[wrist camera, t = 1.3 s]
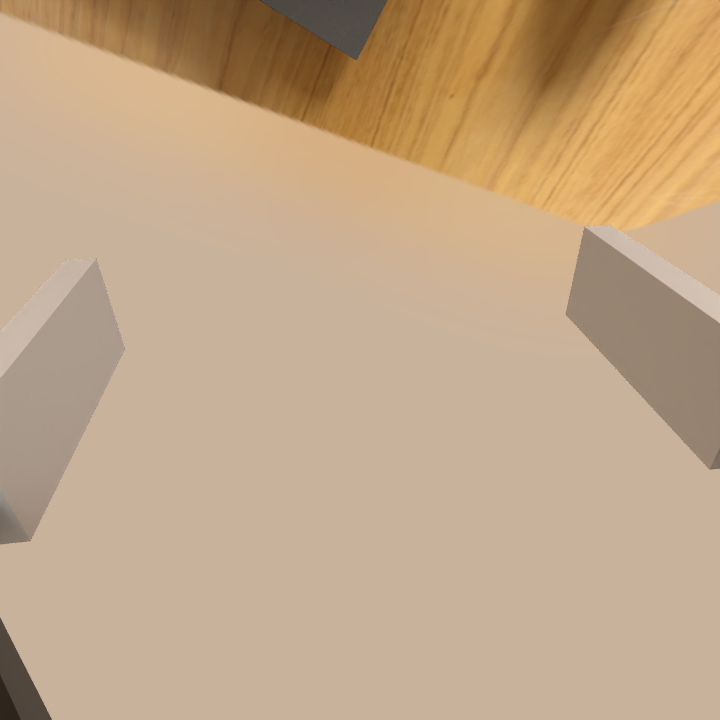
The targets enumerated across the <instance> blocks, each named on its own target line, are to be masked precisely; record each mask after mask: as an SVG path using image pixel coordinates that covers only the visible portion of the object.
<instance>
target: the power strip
mask: <svg viewBox="0 0 720 720" xmlns="http://www.w3.org/2000/svg"><path fill="white" fill-rule="evenodd" d="M260 1H262V2H263V3H265V4H266V5H268V6H270V7H271V8H273V9H274V10H276V11H278V12H279V13H281V14H282V15H284V16H286V17H287V18H289V19H291V20H292V21H294V22H295V23H297V24H299V25H300V26H302V27H303V28H305V29H307V30H308V31H310V32H312V33H313V34H315V35H316V36H318V37H320V38H321V39H323V40H324V41H326V42H328V43H329V44H331V45H333V46H334V47H336V48H337V49H339V50H341V51H342V52H344V53H345V54H347V55H349V56H350V57H352V58H353V59H355V60H357V59H358V57H359V55H360V53H361V51H362V49H363V47H364V45H365V43H366V41H367V39H368V37H369V35H370V33H371V31H372V29H373V27H374V25H375V23H376V21H377V19H378V17H379V15H380V13H381V11H382V9H383V7H384V5H385V3H386V1H387V0H260Z"/></svg>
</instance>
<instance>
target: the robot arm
mask: <svg viewBox="0 0 720 720" xmlns="http://www.w3.org/2000/svg"><path fill="white" fill-rule="evenodd" d="M566 315H567V316H568V318H569V319H570V320H571V321H572V322H573V323H574V324H575V325H576V326H577V327H578V328H579V329H580V330H581V332H582V333H583V334H584V335H585V336H586V337H587V338H588V339H589V340H590V341H591V342H592V343H593V344H594V346H595V347H596V348H597V349H598V350H599V351H600V352H601V353H602V354H603V355H604V356H605V357H606V358H607V359H608V361H609V362H610V363H611V364H612V365H613V366H614V367H615V368H616V369H617V370H618V371H619V372H620V373H621V375H622V376H623V377H624V378H625V379H626V380H627V381H628V382H629V383H630V384H631V385H632V386H633V387H634V389H635V390H636V391H637V392H638V393H639V394H640V395H641V396H642V397H643V398H644V399H645V400H646V402H647V403H648V404H649V405H650V406H651V407H652V408H653V409H654V410H655V411H656V412H657V413H658V414H659V416H660V417H661V418H662V419H663V420H664V421H665V422H666V423H667V424H668V425H669V426H670V427H671V428H672V430H673V431H674V432H675V433H676V434H677V435H678V436H679V437H680V438H681V439H682V440H683V441H684V443H686V445H687V446H688V447H689V448H690V449H691V450H692V451H693V452H694V453H695V454H696V455H697V456H698V458H700V460H701V461H702V462H703V463H704V464H705V465H706V466H707V467H708V468H709V469H718V468H720V296H719V295H718V294H716V293H715V292H713V291H712V290H710V289H709V288H707V287H706V286H704V285H702V284H701V283H699V282H698V281H696V280H695V279H693V278H691V277H690V276H689V275H687V274H685V273H684V272H682V271H681V270H679V269H678V268H676V267H675V266H673V265H671V264H670V263H668V262H667V261H665V260H664V259H662V258H661V257H659V256H658V255H656V254H655V253H653V252H651V251H650V250H648V249H647V248H645V247H644V246H642V245H641V244H639V243H638V242H636V241H634V240H633V239H631V238H630V237H628V236H627V235H625V234H624V233H622V232H621V231H619V230H618V229H616V228H615V227H613V226H611V225H604V226H588V227H584V231H583V236H582V240H581V245H580V250H579V254H578V259H577V264H576V269H575V273H574V278H573V282H572V287H571V292H570V296H569V302H568V306H567V310H566ZM124 350H125V347H124V344H123V341H122V337H121V334H120V331H119V328H118V325H117V322H116V319H115V316H114V312H113V309H112V306H111V303H110V300H109V297H108V294H107V291H106V287H105V284H104V281H103V278H102V275H101V272H100V269H99V265H98V262H97V259H80V260H65V261H64V263H63V264H62V265H61V266H60V267H59V268H58V269H57V270H56V271H55V272H54V273H53V275H52V276H51V277H50V278H49V279H48V280H47V281H46V282H45V283H44V284H43V285H42V287H41V288H40V289H39V290H38V291H37V292H36V293H35V294H34V295H33V296H32V297H31V299H30V300H29V301H28V302H27V303H26V304H25V305H24V306H23V307H22V308H21V309H20V310H19V312H18V313H17V314H16V315H15V316H14V317H13V318H12V319H11V320H10V321H9V322H8V324H7V325H6V326H5V327H4V328H3V329H2V330H1V331H0V544H7V543H17V542H27V541H31V539H32V536H33V535H34V532H35V531H36V528H37V527H38V525H39V522H40V520H41V518H42V516H43V514H44V512H45V510H46V508H47V506H48V504H49V502H50V500H51V498H52V496H53V494H54V492H55V490H56V488H57V486H58V484H59V482H60V480H61V478H62V476H63V474H64V472H65V470H66V468H67V466H68V464H69V462H70V460H71V458H72V456H73V454H74V452H75V450H76V447H77V446H78V443H79V441H80V439H81V437H82V435H83V433H84V431H85V429H86V427H87V425H88V423H89V421H90V419H91V417H92V415H93V413H94V411H95V409H96V407H97V405H98V403H99V401H100V399H101V397H102V395H103V393H104V391H105V389H106V387H107V385H108V383H109V380H110V378H111V376H112V375H113V372H114V371H115V369H116V366H117V364H118V362H119V360H120V358H121V356H122V354H123V352H124ZM0 720H52V719H51V717H50V715H49V713H48V711H47V709H46V707H45V705H44V703H43V701H42V699H41V698H40V695H39V693H38V691H37V689H36V687H35V685H34V684H33V682H32V680H31V678H30V676H29V674H28V672H27V670H26V668H25V666H24V664H23V662H22V660H21V658H20V656H19V654H18V652H17V650H16V648H15V646H14V644H13V642H12V640H11V638H10V636H9V634H8V632H7V630H6V628H5V626H4V624H3V622H2V620H1V618H0Z"/></svg>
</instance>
